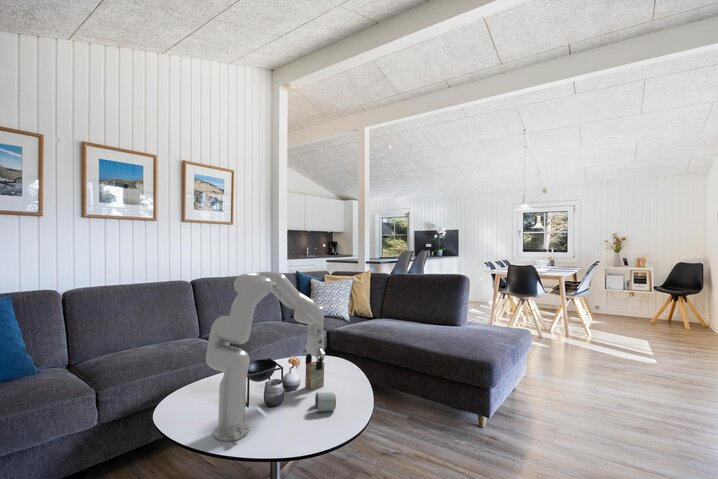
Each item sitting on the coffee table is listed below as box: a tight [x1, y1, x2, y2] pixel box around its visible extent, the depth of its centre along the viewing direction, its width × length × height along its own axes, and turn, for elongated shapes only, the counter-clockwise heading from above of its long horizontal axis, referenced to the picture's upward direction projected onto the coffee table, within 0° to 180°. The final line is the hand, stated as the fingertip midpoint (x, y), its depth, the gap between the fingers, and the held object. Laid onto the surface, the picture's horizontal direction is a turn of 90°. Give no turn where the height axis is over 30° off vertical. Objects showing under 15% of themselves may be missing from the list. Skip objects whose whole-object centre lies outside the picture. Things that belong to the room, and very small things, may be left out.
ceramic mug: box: [314, 391, 337, 413], centre depth 159 cm, size 11×8×8 cm
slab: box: [304, 360, 325, 391], centre depth 180 cm, size 4×8×12 cm, turn 129°
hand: (313, 366), depth 179 cm, fingers open, 9 cm apart
